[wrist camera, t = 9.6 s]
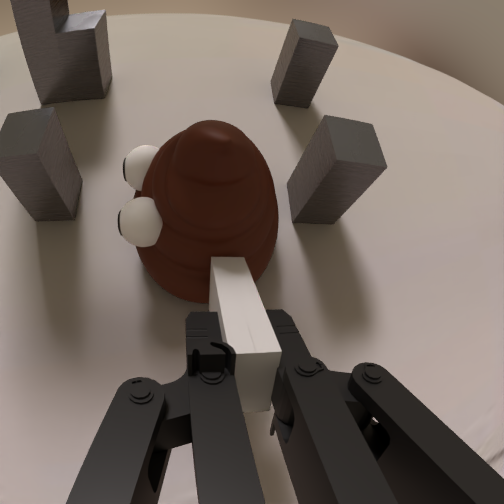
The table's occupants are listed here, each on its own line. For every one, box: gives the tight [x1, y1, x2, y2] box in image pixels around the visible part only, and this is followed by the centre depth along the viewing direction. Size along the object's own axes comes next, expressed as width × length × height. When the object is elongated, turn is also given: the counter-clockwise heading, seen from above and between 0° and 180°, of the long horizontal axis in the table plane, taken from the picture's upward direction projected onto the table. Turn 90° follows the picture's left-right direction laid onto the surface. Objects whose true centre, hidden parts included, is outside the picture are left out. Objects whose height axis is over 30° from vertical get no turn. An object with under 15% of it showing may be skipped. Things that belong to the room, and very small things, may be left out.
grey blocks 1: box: [56, 10, 338, 108], centre depth 21 cm, size 3×20×7 cm, turn 94°
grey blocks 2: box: [0, 107, 387, 224], centre depth 17 cm, size 3×20×7 cm, turn 94°
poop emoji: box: [118, 120, 278, 303], centre depth 15 cm, size 10×8×9 cm
